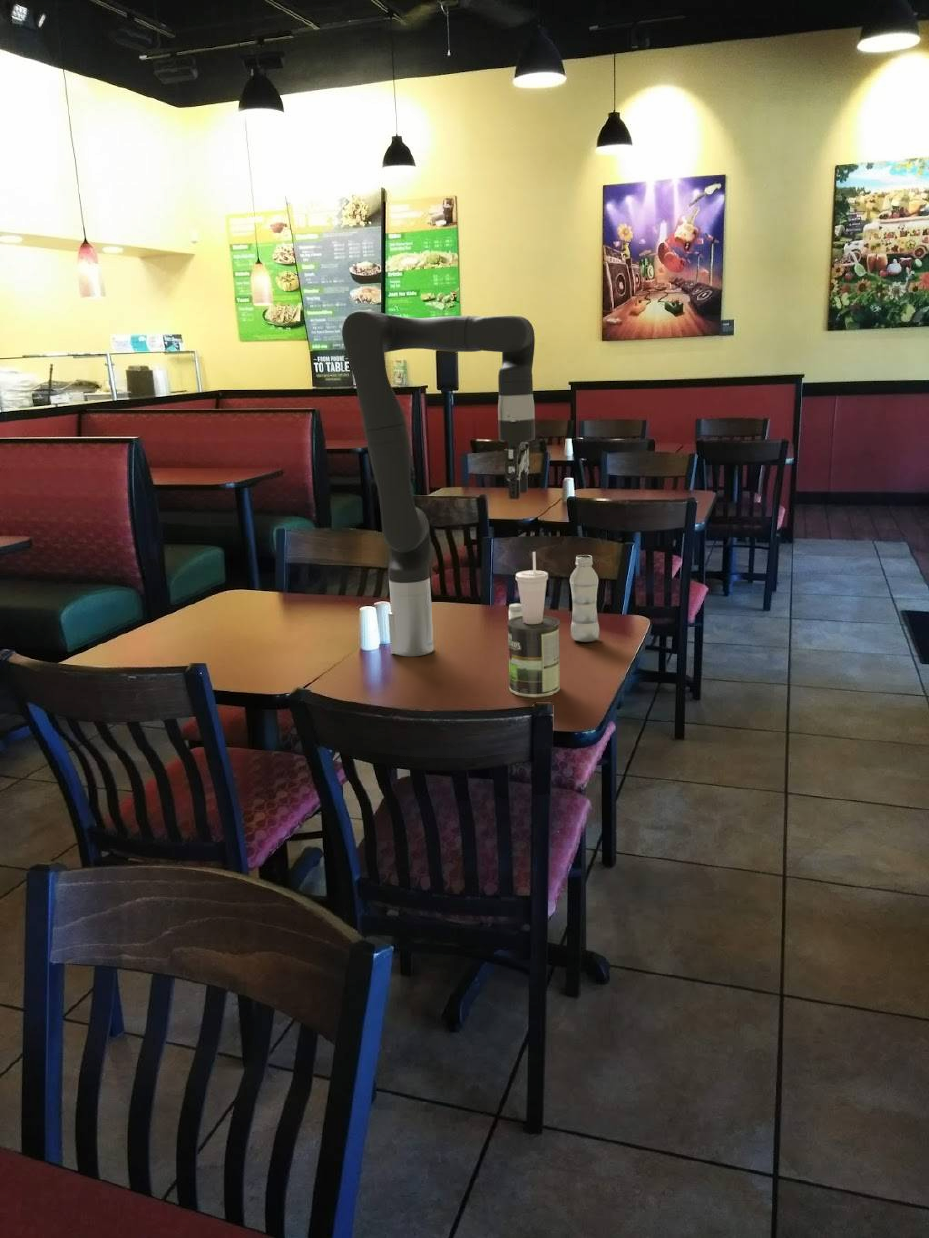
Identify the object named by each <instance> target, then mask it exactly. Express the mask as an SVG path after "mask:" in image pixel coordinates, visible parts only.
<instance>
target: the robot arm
mask: <svg viewBox="0 0 929 1238" xmlns="http://www.w3.org/2000/svg"><path fill="white" fill-rule="evenodd" d="M341 334H342V335H341V337H342V343H343V345H344V350H345V352H346V353H345V354H346V356H347V359H348V362H349V366H350V369H351V372H352V376H353V380H354V384H355V387H356V393H357V398H358V405H359V410H360V414H361V419H362V426H363V431H364V437H365V443H366V447H367V451H368V455H369V459H370V465H371V468H372V473H373V476H374V481H375V483H376V488H377V493H378V499H379V508H380V520H381V531H382V535H383V539H384V541H385V542H386V544H387V545H388V547H389V548H390V549H389V550H390V556H389V557H390V558H389V564H388V569H387V570H388V584H389V585H388V586H389V587H388V588H389V599H390V600H389V601H390V612H389V613H388V615H387V616H388V628H389V629H388V633H389V644H390V654H391V655H393V654H395V655H397V656H401V657H419V656H421V657H422V656H424V655H429V654H431V653H432V652H434V650H435V649H434V632H433V630H434V629H433V612H432V596H431V593H432V592H431V578H430V577H431V576H430V570H431V569H430V566H431V535H430V533H431V532H430V524H429V520H428V518H427V515H426V514H425V512H424V511H423V510H421V509H420V507H417V506H416V505H415V499H414V496H413V491H412V484H411V483H412V482H411V470H412V469H411V467H412V466H411V465H412V463H411V460H412V458H411V457H412V455H411V454H412V453H411V442H410V435H409V429H408V426H407V425H408V424H407V420H406V417H405V414H404V410H403V408H402V406H401V403H400V401H399V399H398V397H397V396H396V393H395V391H394V389H393V387H392V385H391V383H390V380H389V377H388V376H389V375H388V373H387V369H386V362H385V357H384V356H385V355H384V354H385V353H390V352H395V351H400V350H419V349H420V350H421V349H423V350H432V351H439V352H440V351H441V352H452V353H455V352H457V353H458V352H459V353H465V352H466V353H469V352H470V353H471V352H472V353H473V352H474V353H475V352H481V351H483V352H493V353H502V354H501V356H502V357H501V367H500V368H499V370H498V376H497V377H498V378H497V381H498V386H497V387H498V403H497V414H498V415H497V416H498V417H497V419H498V421H497V423H498V440H499V441H500V442H503V443H508V448H505V449H504V463H505V465H504V470H505V471H504V473H505V475H504V478H505V479H506V480H507V481H508V498H509V499H510V500H518V499H520V498H521V494H523V493H524V494H526V493H527V492H528V475H529V471H530V469H531V466H530V465H531V463H530V443H529V442H531V441H533V440H535V438H536V423H535V421H536V417H535V414H536V413H535V401H534V392H533V391H534V389H533V387H534V386H533V385H534V383H533V364H534V356H535V344H536V340H535V339H536V338H535V330H534V327H533V324H532V323H531V322H530V320H529V319H527V318H525V317H524V316H519V315H517V316H516V315H498V316H496V315H495V316H485V317H482V316H475V315H446V316H432V317H406V316H398V315H392V314H388V313H383V312H380V311H377V310H370V309H369V310H368V309H367V310H365V309H364V310H363V309H362V310H360V309H359V310H356V311H353V312H351V313H349V314H348V316H346V318H345V319H344V321H343V324H342V330H341Z"/></svg>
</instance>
